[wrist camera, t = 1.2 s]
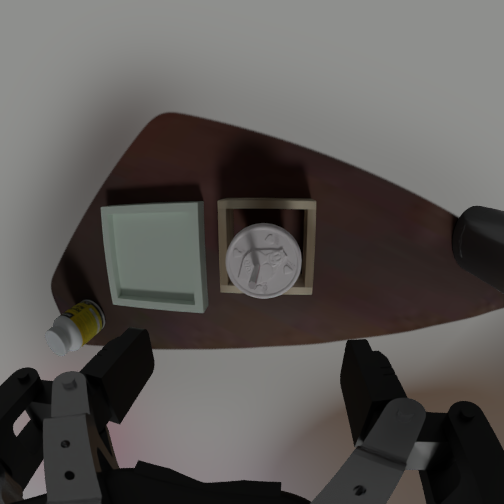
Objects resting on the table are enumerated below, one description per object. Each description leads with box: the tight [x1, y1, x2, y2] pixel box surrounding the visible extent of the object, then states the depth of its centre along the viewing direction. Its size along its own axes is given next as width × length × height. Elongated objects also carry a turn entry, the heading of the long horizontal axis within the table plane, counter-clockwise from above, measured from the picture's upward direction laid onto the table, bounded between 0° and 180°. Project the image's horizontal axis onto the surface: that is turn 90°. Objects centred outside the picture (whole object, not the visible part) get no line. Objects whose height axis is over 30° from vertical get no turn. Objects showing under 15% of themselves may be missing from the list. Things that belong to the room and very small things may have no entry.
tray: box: [101, 201, 208, 313], centre depth 33 cm, size 13×13×2 cm
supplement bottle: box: [45, 300, 105, 356], centre depth 33 cm, size 5×5×10 cm
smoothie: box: [226, 223, 302, 298], centre depth 26 cm, size 6×6×14 cm
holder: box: [218, 198, 316, 295], centre depth 30 cm, size 10×10×4 cm
